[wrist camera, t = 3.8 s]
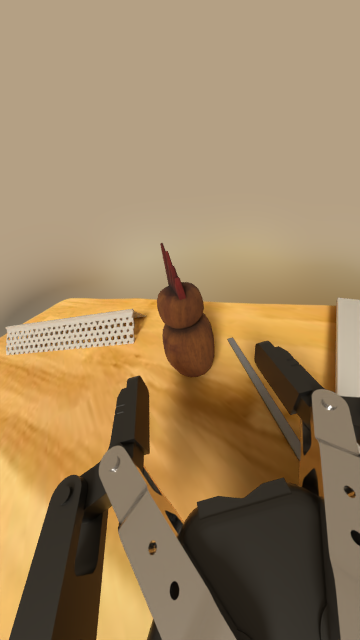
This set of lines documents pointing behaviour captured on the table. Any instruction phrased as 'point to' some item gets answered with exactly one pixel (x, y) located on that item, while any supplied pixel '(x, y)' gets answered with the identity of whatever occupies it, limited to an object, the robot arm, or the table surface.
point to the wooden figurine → (184, 325)
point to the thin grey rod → (268, 401)
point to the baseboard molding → (348, 348)
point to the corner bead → (64, 326)
